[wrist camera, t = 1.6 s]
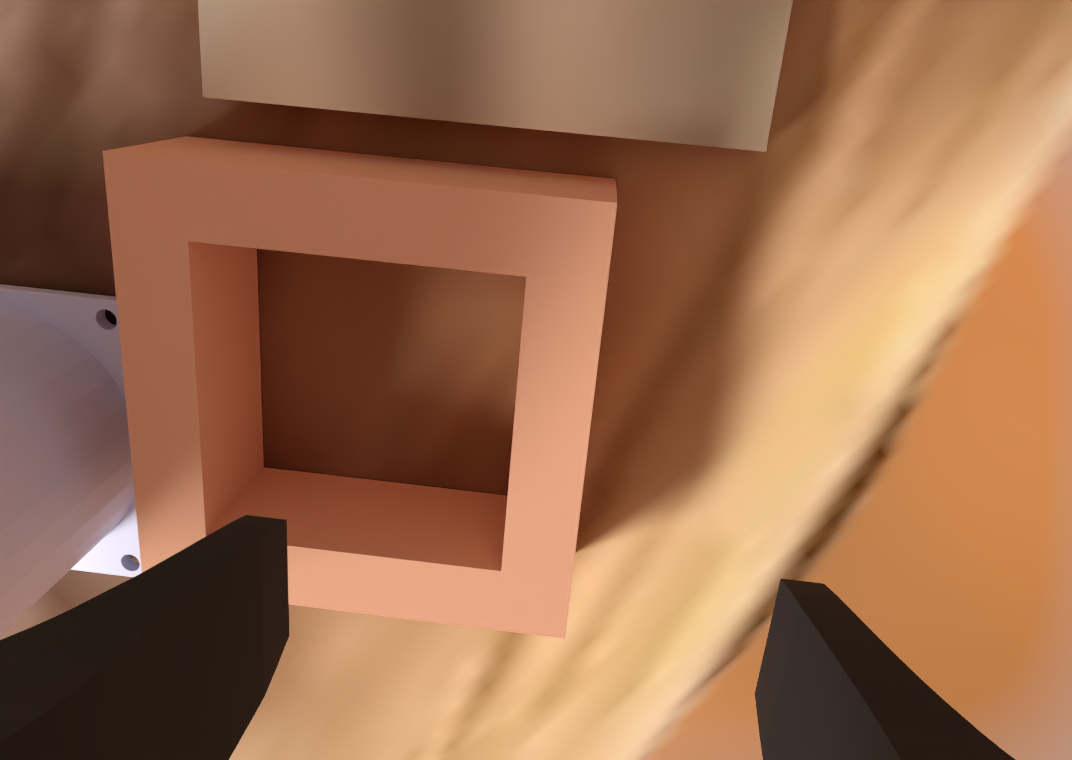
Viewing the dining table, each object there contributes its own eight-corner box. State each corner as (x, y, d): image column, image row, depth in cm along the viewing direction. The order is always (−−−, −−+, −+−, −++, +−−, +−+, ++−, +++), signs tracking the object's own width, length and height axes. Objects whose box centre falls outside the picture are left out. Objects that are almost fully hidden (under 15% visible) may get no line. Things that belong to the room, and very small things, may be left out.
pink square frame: (208, 512, 23) (143, 586, 20) (186, 136, 20) (102, 150, 16) (570, 555, 23) (565, 638, 20) (616, 178, 19) (617, 202, 16)
